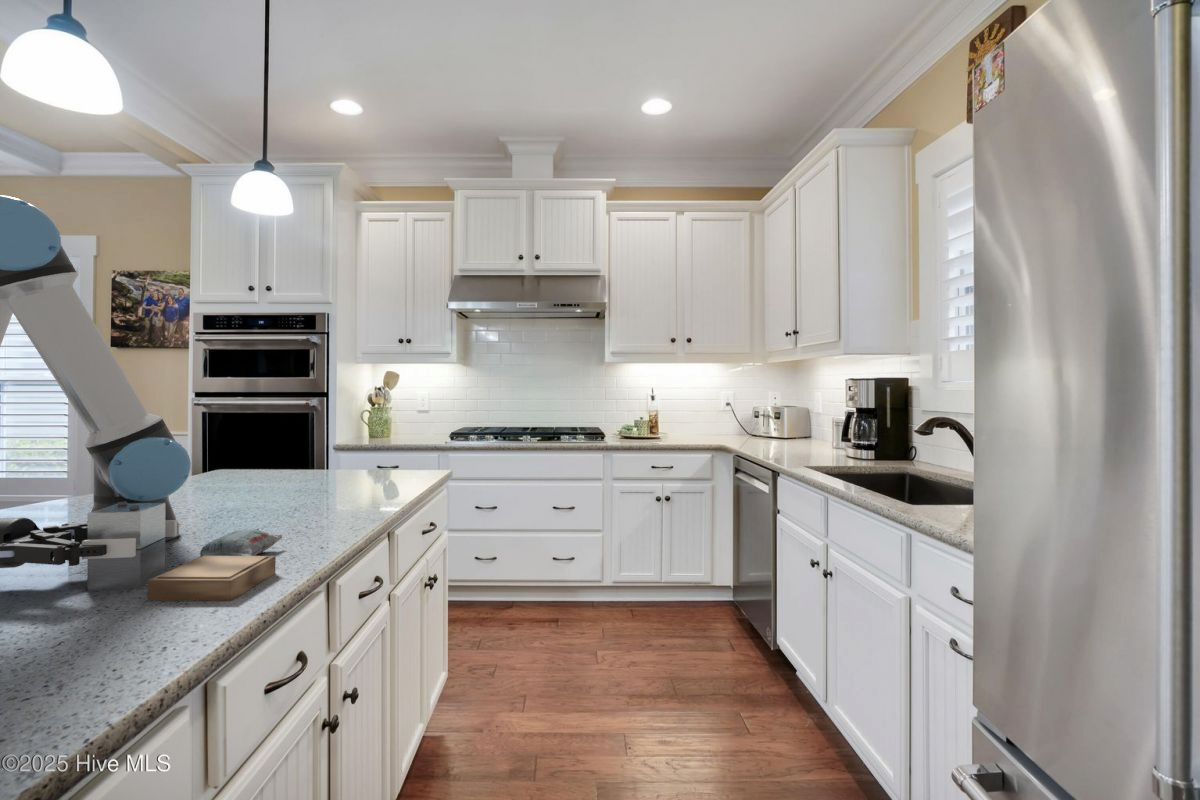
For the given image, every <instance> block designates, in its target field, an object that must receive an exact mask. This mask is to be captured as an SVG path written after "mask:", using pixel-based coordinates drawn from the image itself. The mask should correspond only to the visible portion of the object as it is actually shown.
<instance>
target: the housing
mask: <svg viewBox="0 0 1200 800" xmlns="http://www.w3.org/2000/svg"><path fill="white" fill-rule="evenodd" d="M87 521H88V540H96V539H124V538H136V556H134V557H124V558H101V559H87V592H97V591H114V590H129V589H128V588H136V589H141V587H142V588H144V587H145V586H146V584H147V582H148V580H149V579H152V578H154V577H156V576H158V575H161V574H163V573H165V572H166V541H165V538H164V537H165V503H133V504H127V501H122V502H117V504H115V505H112V506H109V507H106V508H102V509H99V510H96V511H93V512H91V511H90V512H87Z"/></svg>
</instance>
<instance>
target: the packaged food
mask: <svg viewBox="0 0 1200 800" xmlns="http://www.w3.org/2000/svg"><path fill="white" fill-rule="evenodd" d="M282 539H283V535H282V534H275V535H274V534H273V533H269V532H267V531H263V530H261V529H259V528H252V529H249V528H248V529H241V530H235V531H232V532H229V533H227V534H224V535H222V536H220V537H218V538H215V539H213V540H212V541H210V542H208V543H207V544H205V545H204V546H202V548H201V550H200V553H199V555H200V556H199V557H201V556H260V555H261V554H262V553H264V552H265V551H266V550H269V549H270V548H271V547H273V546H274V545H275V544H276V543H278V542H279V541H281V540H282Z"/></svg>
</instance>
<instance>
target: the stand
mask: <svg viewBox="0 0 1200 800" xmlns="http://www.w3.org/2000/svg"><path fill="white" fill-rule="evenodd" d="M276 558H277V557H276V555H256V556H201V557H200V556H199V557H197V558H194V559H192V560H190V561H188V562H186V563H183V564H182V565H179V566H176V567H174V568H172V569H169V570H168V571H165V573H163V574H161V575H158V576H156V577H154V578H152V579H149V580H148V582H147V588H146V590H147V592H146V593H147V597H146V598H147V599H146V600H147V601H153V602H154V601H171V602H172V601H173V602H174V601H178V602H179V601H181V602H182V601H232V600H235V599H236V598H238V597H239V596H241V595H243V594H244V593H246V592H247V591H249V590H251V589H252V588H254V587H256V586H257V585H260V584H261V583H262V582H264V581H266V580H267V579H268V578H271V577H272V576H274V575H276V562H277V561H276V560H277V559H276Z"/></svg>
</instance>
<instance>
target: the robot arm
mask: <svg viewBox="0 0 1200 800" xmlns="http://www.w3.org/2000/svg"><path fill="white" fill-rule="evenodd" d="M78 276H79V273H78V271H77V270H76V268H75V267H74V265H73V263H72V261H71V259H70V258H69V257H68V255H67V253H66V251H65V249H64V247H63V245H62V240H61V235H60V231H59V229H58V228H57V225H56V224H55V223H54V221H53V220H52V219H51V218H50V217H49V215H48V214H46V213H45V212H44V211H43V210H41V209H40V208H38V207H36V206H35V205H33V204H31V203H29V202H27V201H25V200H22V199H19V198H16V197H12V196H8V195H1V194H0V347H2V344H3V340H4V338H5V336H6V332H7V330H8V328H9V324H10V322H11V319H12V316H13V315H14V318H16V320H17V321H18V323H19V324H20V327H21V328H22V330H23V331H24V333H25V334H26V336H27V338H28V339H29V340H30V342H31V343H32V345H33V347H34V349H35V350H36V351H37V353H38V355H39V356H40V357H41V359H42V361H43V362H44V364H45V365H46V367H47V368H48V370H49V371H50V373H51V374H52V376H53V378H54V379H55V381H56V382H57V384H58V386H59V387H60V388H61V389H60V390H61V391H62V392H63V393H64V395H65V396H66V398H67V399H68V401H69V403H70V404H71V406H72V408H73V409H74V410H75V413H76V414H77V416H78V417H79V419H80V420H81V422H82V423H83V425H84V426H85V428H86V430H87V431H88V437H87V439H86V441H85V443H84V447H85V449H86V450H87V452H88V453H89V455H90V457H91V458H92V460H93V505H92V509H91V510H90V512H93V511H96V510H99V509H102V508H106V507H109V506H112V505H115V504H117V502H122V501H127V504H133V503H165V537H164V538H165V542H168V541H171V540H173V539H176V538H177V537H178V536H179V535H180V524H179V521H178V520H177V518H176V514H175V512H174V509H173V507H172V504H171V501H170V498H169V497H170V496H171V495H172V494H174V493H175V492H177V491H178V490H179V489H180V488H181V487H183V485H184V484H185V483H186V481H187V480H188V477H189V476H190V472H191V468H192V464H191V458H190V455H189V454H188V451H187V450H186V448H185V447H183V446H182V444H181V443H179V442H178V441H176V439H175V437H174V436H173V434H172V433H171V431H170V429H169V428H168V425H167V424H166V423H165V421H164V419H163V418H162V416H160V415H156V414H153V413H150V412H149V411H147V410H146V408H145V407H144V405H143V403H142V401H141V400H140V398H139V397H138V394H137V392H136V391H135V389H134V387H133V386H132V384H131V383H130V381H129V379H128V377H127V376H126V374H125V372H124V370H122V368H121V366H120V364H119V363H118V361H117V359H116V357H115V356H114V353H113V352H112V350H111V348H109V345H108V344H107V342H106V340H105V339H104V337H103V335H102V333H101V332H100V330H99V328H98V327H97V326H96V324H95V322H94V320H93V319H92V317H91V315H90V313H89V312H88V310H87V308H86V306H85V305H84V303H83V301H82V300H81V298H80V296H79V295H78V293H77V291H76V290H75V287H74V283H75V281H76V279H77V277H78ZM86 521H87V522H82V523H81V522H80V523H79V522H76V523H74V522H73V523H68V522H67V523H64V524H61V526H58V525H50V526H49V525H48V526H44V527H43V528H42V529H40V528H39V526H38V525H37V524H36V522H35V521H33V520H32V519H30V518H27V517H4V518H1V517H0V569H11V568H12V569H13V568H19V567H21V566H22V565H25V564H38V565H40V564H41V565H53V566H61V565H64V564H66V561H67V562H68V566H69V567H73V566H79V565H80V558H81V560H88V559H101V558H124V557H134V556H136V538H124V539H96V540H88V520H86Z"/></svg>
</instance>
